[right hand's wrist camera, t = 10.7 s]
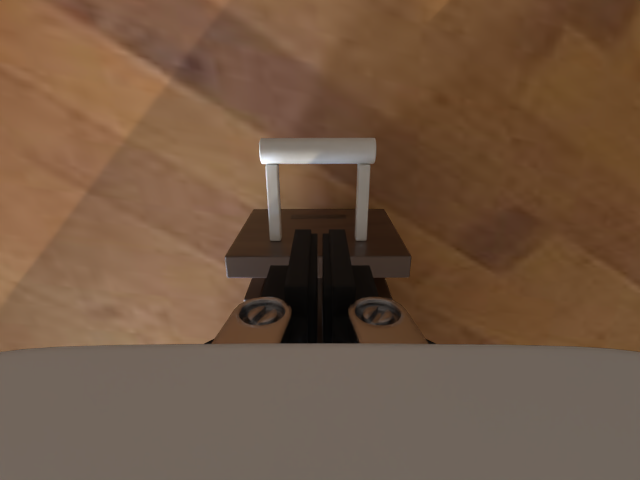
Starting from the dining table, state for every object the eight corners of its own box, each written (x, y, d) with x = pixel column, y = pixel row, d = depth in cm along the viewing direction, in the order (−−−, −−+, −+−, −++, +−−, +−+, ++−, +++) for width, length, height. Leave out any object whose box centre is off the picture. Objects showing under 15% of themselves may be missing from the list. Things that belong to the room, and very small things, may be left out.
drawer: (247, 129, 23) (211, 143, 15) (389, 128, 23) (423, 143, 15) (267, 392, 31) (250, 486, 23) (371, 392, 31) (388, 486, 23)
